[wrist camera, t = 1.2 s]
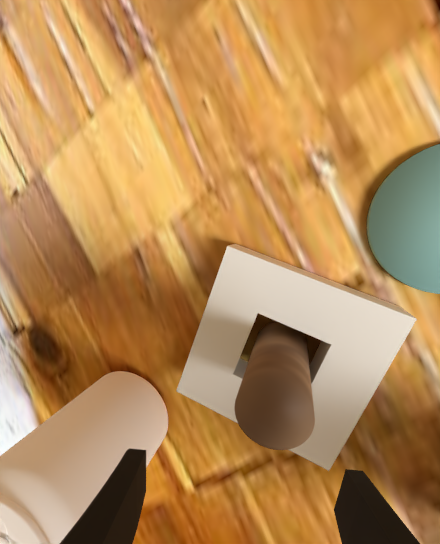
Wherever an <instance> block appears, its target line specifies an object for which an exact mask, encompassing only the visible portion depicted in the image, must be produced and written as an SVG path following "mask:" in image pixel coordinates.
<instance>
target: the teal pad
mask: <svg viewBox="0 0 440 544" xmlns="http://www.w3.org/2000/svg"><path fill="white" fill-rule="evenodd" d="M367 237H368V242H369V245H370V248H371V251H372V253H373V254H374V256H375V258H376V260H377V261H378V262H379V264H380V265H381V266H382V267H383V268H384V269H385V270H386V271H387V272H388V273H389V274H390V275H391V276H393V277H394V278H396V279H397V280H399V281H401V282H402V283H404V284H406V285H409V286H411V287H413V288H415V289H419V290H422V291H425V292H431V293H437V294H440V144H438V145H435V146H432V147H430V148H427V149H425V150H423V151H421V152H419V153H417V154H416V155H414V156H412V157H410V158H409V159H407V160H406V161H404V162H403V163H402V164H400V165H399V166H398V167H397V168H396V169H394V170H393V171H392V172H391V173H390V174H389V175H388V176H387V177H386V179H385V180H384V181H383V182H382V184H381V185H380V187H379V188H378V190H377V191H376V193H375V195H374V197H373V199H372V202H371V204H370V207H369V211H368V215H367Z"/></svg>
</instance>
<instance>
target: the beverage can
mask: <svg viewBox="0 0 440 544" xmlns="http://www.w3.org/2000/svg"><path fill="white" fill-rule="evenodd" d="M167 429H168V413H167V409H166V406H165V403H164V401H163V399H162V397H161V396H160V394H159V393H158V391H157V390H156V389H155V388H154V387H153V386H152V385H151V384H150V383H149V382H148V381H146V380H145V379H144V378H142V377H140V376H138V375H136V374H133V373H130V372H125V371H116V372H111V373H108V374H106V375H104V376H103V377H101V378H100V379H99V380H98V381H96V382H95V383H94V384H92V385H91V386H90V387H89V388H87V389H86V390H85V391H83V392H82V393H81V394H80V395H78V396H77V397H76V398H74V399H73V400H72V401H71V402H69V403H68V404H67V405H65V406H64V407H63V408H62V409H60V410H59V411H58V412H56V413H55V414H54V415H53V416H51V417H50V418H49V419H47V420H46V421H45V422H44V423H42V424H41V425H40V426H38V427H37V428H36V429H35V430H33V431H32V432H31V433H29V434H28V435H27V436H26V437H24V438H23V439H22V440H20V441H19V442H18V443H17V444H15V445H14V446H13V447H11V448H10V449H9V450H8V451H6V452H5V453H4V454H2V455H1V456H0V544H60V543H61V541H62V540H63V539H64V537H65V536H66V535H67V534H68V532H69V531H70V530H71V529H72V527H73V526H74V525H75V524H76V522H77V521H78V520H79V518H80V517H81V516H82V514H83V513H84V512H85V510H86V509H87V508H88V506H89V505H90V504H91V502H92V501H93V499H94V498H95V497H96V495H97V494H98V493H99V491H100V490H101V488H102V487H103V486H104V484H105V483H106V481H107V480H108V478H109V477H110V475H111V474H112V472H113V471H114V469H115V468H116V466H117V465H118V463H119V462H120V460H121V459H122V457H123V455H124V454H125V452H126V451H127V450H128V449H129V448H130V449H141V450H146V467H147V465H148V464H149V462H150V461H151V459H152V457H153V456H154V454H155V452H156V451H157V449H158V448H159V446H160V444H161V443H162V441H163V439H164V438H165V435H166V433H167Z"/></svg>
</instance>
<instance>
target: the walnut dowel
mask: <svg viewBox="0 0 440 544" xmlns="http://www.w3.org/2000/svg"><path fill="white" fill-rule="evenodd" d="M234 410H235V416H236V419H237V422H238V424H239V426H240V427H241V429H242V430H243V432H244V433H245V434H246V435H247V436H248V437H249V438H250V439H252V440H253V441H254V442H256V443H258V444H259V445H262V446H264V447H267V448H270V449H275V450H288V449H292V448H295V447H298V446H300V445H301V444H303V443H304V442H305V441H306V440H307V439H308V438H309V437H310V435H311V434H312V431H313V429H314V425H315V414H314V405H313V396H312V387H311V378H310V369H309V360H308V351H307V342H306V339H305V336H304V334H303V333H302V332H301V331H298V330H296V329H294V328H291V327H289V326H287V325H284V324H282V323H280V322H277V321H274V322H270V323H268V324H266V325H265V326H264V327H262V329H261V330H260V331H259V333H258V335H257V338H256V341H255V344H254V347H253V350H252V353H251V356H250V359H249V361H248V364H247V367H246V370H245V373H244V376H243V379H242V382H241V385H240V388H239V391H238V394H237V397H236V400H235V407H234Z"/></svg>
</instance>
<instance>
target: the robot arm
mask: <svg viewBox="0 0 440 544" xmlns="http://www.w3.org/2000/svg"><path fill="white" fill-rule="evenodd" d="M145 493H146V450H141V449H130V448H129V449H128V450H127V451H126V452H125V454H124V455H123V457H122V459H121V460H120V462H119V463H118V465H117V466H116V468H115V469H114V471H113V472H112V474H111V475H110V477H109V478H108V480H107V481H106V483H105V484H104V486H103V487H102V488H101V490H100V491H99V493H98V494H97V495H96V497H95V498H94V499H93V501H92V502H91V504H90V505H89V506H88V508H87V509H86V510H85V512H84V513H83V514H82V516H81V517H80V518H79V520H78V521H77V522H76V524H75V525H74V526H73V527H72V529H71V530H70V531H69V532H68V534H67V535H66V536H65V537H64V539H63V540H62V541H61V543H60V544H132V543H133V540H134V536H135V533H136V530H137V526H138V522H139V518H140V514H141V510H142V506H143V501H144V497H145ZM334 512H335V516H336V520H337V525H338V529H339V533H340V537H341V541H342V544H420V543H419V542H418V540H417V539H416V538H415V537H414V536H413V534H412V533H411V532H410V531H409V529H408V528H407V527H406V526H405V524H404V523H403V522H402V520H401V519H400V518H399V517H398V515H397V514H396V513H395V512H394V510H393V509H392V508H391V506H390V505H389V504H388V503H387V501H386V500H385V499H384V497H383V496H382V495H381V494H380V492H379V491H378V490H377V488H376V487H375V486H374V485H373V483H372V482H371V481H370V479H369V478H368V477H367V476H366V474H365V473H364V472H363V471H357V470H347V469H346V471H345V474H344V478H343V481H342V484H341V488H340V491H339V495H338V498H337V501H336V505H335V508H334Z"/></svg>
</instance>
